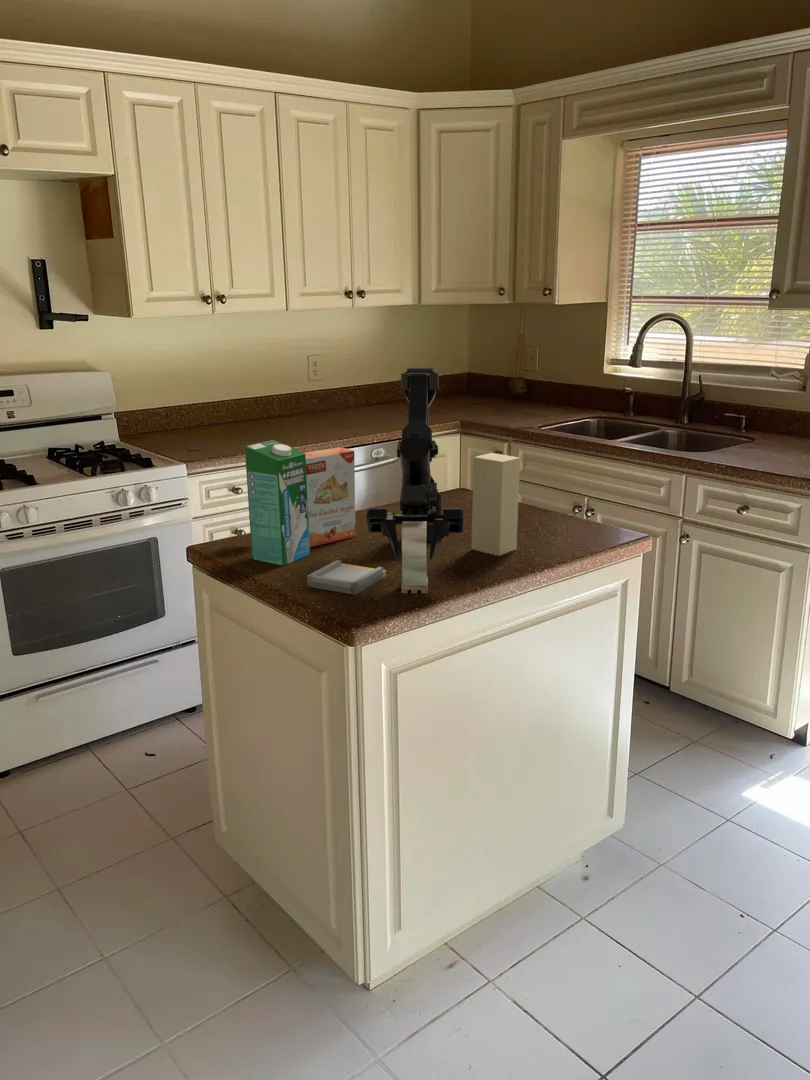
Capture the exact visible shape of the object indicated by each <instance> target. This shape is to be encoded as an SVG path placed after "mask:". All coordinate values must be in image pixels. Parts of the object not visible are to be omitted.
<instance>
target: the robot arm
mask: <svg viewBox="0 0 810 1080" xmlns="http://www.w3.org/2000/svg"><path fill="white" fill-rule="evenodd" d="M400 390H404V396H405V399H406V400H407V402H408V412H407V413H408V415H407V424H406V425H405V426H404V427H403V428H402V430H401V440H400V439H399V440H398V441H397V442H398V443H397V446H396V447H397V448H396V457H397V458H400V467H401V468H400V469H401V471H402V472H401V473H402V474H401V490H400V498H399V511H400V513H399V514H397V513H394V512H389V511H388V507H369V508H368V509H367V510H366V524H367V530H368V532H369V533H372V534H374V533H375V534H378V533H380V534H381V536H383V537H386V538H387V539H388V541H389V543H390V544H391V548H392V549H393V550H392V551H393V553H394V556H395V558H396V560H397V561H399V559H400V550H399V541H398V533H397V525H402V524H403V521H427V543H428V542H430V543H431V544H430V549H429V559H430V561H433V560H434V559H433V558H434V556H435V554H436V552H437V549H438V548H439V545H440V543H441V542H442V540H443V538H444V537H449V536H450V534H461V533H463V531H464V530H463V529H464V511H463V509H462V508H461V507H442V495H441V494H440V492H439V489H438V483H437V482H435V480H434V478H433V476H432V475H431V462H432V461H433V458H436V457H437V456H438V455H439V445H438V444H437V442H436V440H435V439H434V440H433V430H432V428H431V427H430V425H429V422H430V416H429V415H430V414H429V413H430V412H429V411H430V406H431V405H432V403H433V401H434V399H435V398H436V390H439V372H436V371H434V367H407V368H406V371H405V372H401V373H400ZM400 539H401V540H402V536H401V538H400Z"/></svg>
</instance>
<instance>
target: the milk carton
mask: <svg viewBox="0 0 810 1080" xmlns="http://www.w3.org/2000/svg"><path fill="white" fill-rule="evenodd" d="M305 453H306V452H303V451H300V450H297V449H296V448H293V447H291V446H289V445H287V444H284V443H282V442H280V441H276V440H274V439H270V440H267V441H262V442H259V443H255V444H250V445H246V446H244V454H245V455H244V456H245V457H244V458H245V469H246V470H245V471H246V485H247V486H246V487H247V488H246V489H247V499H248V500H247V502H248V517H249V532H250V534H249V535H250V545H251V546H250V548H251V559H252V560H253V559H254V560H255V561H258V560H259V561H258V562H265V563H270V564H274V565H278V566H283V567H284V566H286V565H289V564H291V563H293V562H296V561H298V560H300V559H304V558H306V557H308V556H310V554H311V551H310V548H311V547H310V545H309V523H308V501H307V478H306V456H305Z"/></svg>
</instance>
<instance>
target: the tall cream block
mask: <svg viewBox="0 0 810 1080" xmlns="http://www.w3.org/2000/svg"><path fill="white" fill-rule="evenodd" d="M472 468H473V471H472V473H473V475H472V515H471V521H472V522H471V550H474V551H477V552H481V553H484V554H488V553H489V554H488V555H492V554H493V556H496V555H497V557H501V556H503V554H504V555H506V554H509V553H511V552H510V551H512V552H514V551H516V550H517V547H518V546H517V545H518V543H517V541H518V520H519V497H520V496H519V494H520V493H519V492H520V468H521V458H520V457H517V456H512V455H506V454H500V453H495V452H488V453H484V454H481V455H476V456H474V457H473V467H472ZM513 550H514V551H513ZM508 552H509V553H508ZM505 553H506V554H505ZM500 555H501V556H500Z"/></svg>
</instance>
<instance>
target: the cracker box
mask: <svg viewBox="0 0 810 1080" xmlns="http://www.w3.org/2000/svg"><path fill="white" fill-rule="evenodd" d="M304 453H305V456H306V478H307V501H308V523H309V545H310V548H313V547H318V546H321V545H326V544H330V543H334V542H338V541H342V540H346V539H351V538H355V537H356V484H355V483H356V481H355V478H356V477H355V476H356V475H355V469H356V468H355V467H356V466H355V450H353V449H350V448H344V447H341V446H340V447H333V448H332V447H331V448H328V449H321V450H313V451H308V452H304Z"/></svg>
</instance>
